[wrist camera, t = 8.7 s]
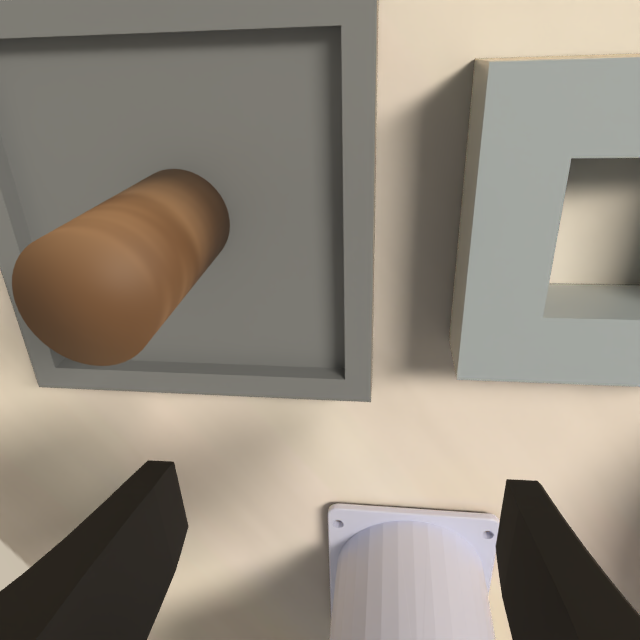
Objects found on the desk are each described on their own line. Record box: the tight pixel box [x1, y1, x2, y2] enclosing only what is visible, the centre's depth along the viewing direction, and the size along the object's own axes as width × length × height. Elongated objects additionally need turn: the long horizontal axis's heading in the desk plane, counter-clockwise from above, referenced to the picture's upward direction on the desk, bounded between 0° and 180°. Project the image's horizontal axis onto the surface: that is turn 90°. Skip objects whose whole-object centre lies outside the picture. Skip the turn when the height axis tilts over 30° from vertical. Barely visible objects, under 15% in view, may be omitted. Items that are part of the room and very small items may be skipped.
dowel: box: [12, 169, 230, 366], centre depth 16 cm, size 4×4×7 cm
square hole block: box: [449, 54, 640, 387], centre depth 17 cm, size 10×10×3 cm
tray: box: [0, 0, 378, 402], centre depth 19 cm, size 14×14×2 cm
